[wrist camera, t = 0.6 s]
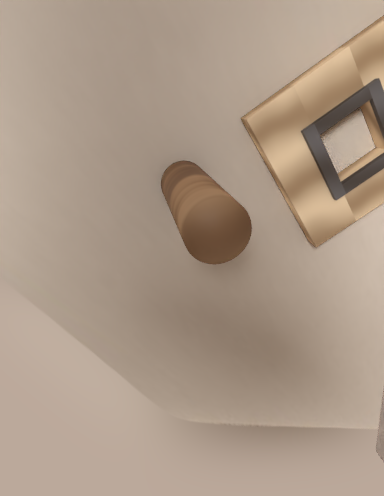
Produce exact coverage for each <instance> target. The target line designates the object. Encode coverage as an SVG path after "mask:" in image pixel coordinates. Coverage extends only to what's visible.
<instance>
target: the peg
mask: <svg viewBox="0 0 384 496" xmlns="http://www.w3.org/2000/svg"><path fill="white" fill-rule="evenodd" d="M161 188H162V192H163V194H164V196H165V199H166V201H167V204H168V206H169V208H170V211H171V213H172V215H173V218H174V220H175V222H176V225H177V227H178V229H179V232H180V234H181V237H182V239H183V241H184V244H185V246H186V248H187V250H188V251H189V253H190V254H191V255H192V256H193V257H194V258H196V259H197V260H199V261H201V262H204V263H208V264H220V263H225V262H228V261H230V260H232V259H233V258H235V257H236V256H238V255H239V254H240V253H241V252H242V251H243V250H244V249H245V247H246V245H247V244H248V242H249V239H250V236H251V229H252V227H251V220H250V217H249V215H248V213H247V211H246V210H245V209H244V207H243V206H242V205H240V204H239V203H238V202H237V201H236V200H235V199H234V198H233V197H232V196H231V195H229V194H228V193H227V192H226V191H225V190H224V189H223V188H222V187H221V186H220V185H218V184H217V183H216V182H215V181H214V180H213V179H212V178H211V177H210V176H209V175H207V174H206V173H205V172H204V171H203V170H202V169H201V168H200V167H199V166H197V165H196V164H194V163H192V162H189V161H179V162H176V163H173V164H172V165H170V166H169V167H168V168H167V169H166V171H165V172H164V174H163V176H162V180H161Z"/></svg>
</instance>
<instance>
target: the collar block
mask: <svg viewBox="0 0 384 496" xmlns="http://www.w3.org/2000/svg"><path fill="white" fill-rule="evenodd" d="M359 107H361V110H362V112H363V115H364V118H365V120H366V123H367V125H368V128H369V130H370V133H371V136H372V138H373V141H374V143H375V146H376V148H375V149H373V150H372V151H370V152H369V153H367V154H366V155H364V156H363V157H362V158H360V159H359V160H357V161H356V162H354V163H353V164H351V165H350V166H348V167H347V168H345V169H344V170H343V171H341V172H340V173H338V174H337V172H336V170H335V168H334V166H333V164H332V161H331V159H330V157H329V155H328V153H327V150H326V148H325V146H324V144H323V142H322V139H321V137H320V134H322V133H323V132H325V131H326V130H327V129H329V128H330V127H332V126H333V125H335V124H336V123H338V122H339V121H340V120H342V119H343V118H345V117H346V116H348V115H349V114H350V113H352V112H353V111H355V110H356V109H358V108H359ZM241 120H242V122H243V124H244V126H245V127H246V129H247V131H248V133H249V135H250V136H251V138H252V140H253V142H254V144H255V145H256V147H257V149H258V151H259V153H260V154H261V156H262V158H263V160H264V162H265V163H266V165H267V167H268V169H269V171H270V173H271V174H272V176H273V178H274V180H275V182H276V183H277V185H278V187H279V189H280V191H281V192H282V194H283V196H284V198H285V200H286V201H287V203H288V205H289V207H290V209H291V210H292V212H293V214H294V216H295V218H296V220H297V221H298V223H299V225H300V227H301V229H302V230H303V232H304V234H305V236H306V238H307V239H308V241H309V242H310V243H311V244H313V245H314V246H315V247H318V246H319V245H321V244H322V243H324V242H325V241H327V240H328V239H330V238H331V237H333V236H334V235H336V234H337V233H339V232H340V231H342V230H343V229H345V228H346V227H348V226H349V225H351V224H352V223H354V222H355V221H357V220H358V219H360V218H361V217H363V216H364V215H366V214H367V213H369V212H370V211H372V210H373V209H375V208H376V207H378V206H379V205H381V204H382V203H384V16H382V17H381V18H380V19H378V20H377V21H375V22H374V23H373V24H371V25H370V26H368V27H367V28H366V29H364V30H363V31H361V32H360V33H359V34H357V35H356V36H354V37H353V38H352V39H350V40H349V41H348V42H346V43H345V44H343V45H342V46H341V47H339V48H338V49H336V50H335V51H334V52H332V53H331V54H329V55H328V56H327V57H325V58H324V59H322V60H321V61H320V62H318V63H317V64H315V65H314V66H313V67H311V68H310V69H309V70H307V71H306V72H304V73H303V74H302V75H300V76H299V77H297V78H296V79H295V80H293V81H292V82H290V83H289V84H288V85H286V86H285V87H283V88H282V89H281V90H279V91H278V92H276V93H275V94H274V95H272V96H271V97H270V98H268V99H267V100H265V101H264V102H263V103H261V104H260V105H258V106H257V107H256V108H254V109H253V110H251V111H250V112H249V113H247V114H246V115H244V116H243V117H242V118H241Z"/></svg>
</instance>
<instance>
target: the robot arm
mask: <svg viewBox="0 0 384 496" xmlns="http://www.w3.org/2000/svg"><path fill="white" fill-rule="evenodd" d="M376 451H377V453H378V454H379V456H380V457H381V459H382V460H383V462H384V389H383V397H382V405H381V413H380V421H379V429H378V437H377V445H376Z"/></svg>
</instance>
